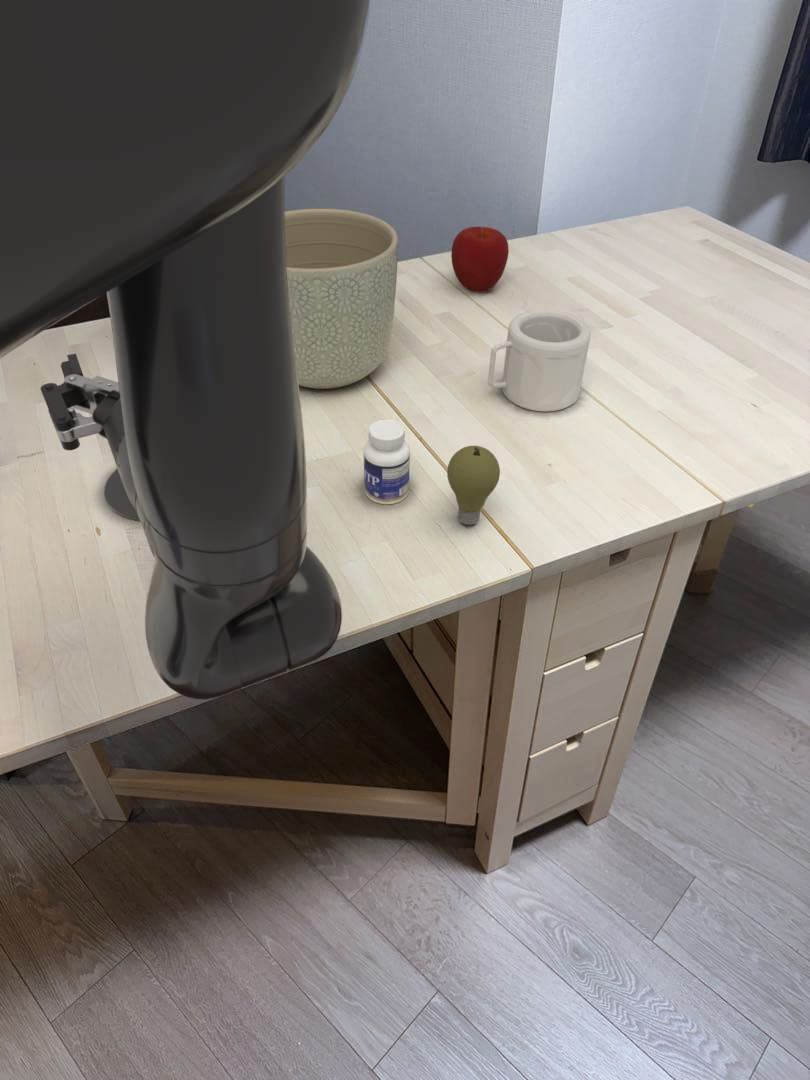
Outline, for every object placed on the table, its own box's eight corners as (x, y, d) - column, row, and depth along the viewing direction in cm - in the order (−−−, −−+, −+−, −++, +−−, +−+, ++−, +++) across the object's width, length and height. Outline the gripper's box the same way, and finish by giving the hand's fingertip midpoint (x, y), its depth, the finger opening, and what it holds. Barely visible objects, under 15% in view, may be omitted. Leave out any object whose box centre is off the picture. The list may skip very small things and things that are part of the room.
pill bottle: (357, 484, 89) (355, 421, 83) (397, 473, 90) (398, 411, 84) (375, 510, 85) (374, 447, 79) (416, 498, 87) (418, 435, 81)
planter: (424, 359, 110) (428, 229, 97) (338, 424, 98) (329, 285, 85) (315, 321, 119) (306, 197, 106) (223, 377, 106) (199, 243, 93)
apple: (512, 297, 126) (519, 237, 119) (458, 302, 125) (462, 242, 118) (494, 274, 133) (500, 216, 126) (443, 278, 131) (446, 220, 124)
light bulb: (502, 532, 83) (512, 459, 76) (456, 544, 81) (462, 471, 74) (480, 501, 86) (487, 430, 80) (436, 513, 85) (440, 441, 78)
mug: (557, 367, 109) (568, 303, 102) (592, 406, 102) (607, 339, 95) (471, 381, 106) (476, 316, 99) (501, 422, 99) (509, 354, 92)
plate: (132, 537, 81) (131, 534, 81) (88, 478, 89) (87, 475, 88) (237, 492, 87) (237, 488, 87) (188, 440, 95) (187, 437, 94)
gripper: (265, 390, 52) (203, 296, 63) (50, 439, 47) (22, 328, 58) (275, 474, 57) (216, 375, 68) (82, 527, 52) (51, 410, 63)
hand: (127, 353), depth 63 cm, fingers open, 8 cm apart
